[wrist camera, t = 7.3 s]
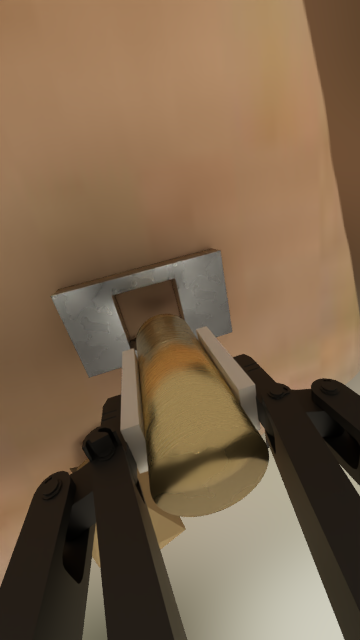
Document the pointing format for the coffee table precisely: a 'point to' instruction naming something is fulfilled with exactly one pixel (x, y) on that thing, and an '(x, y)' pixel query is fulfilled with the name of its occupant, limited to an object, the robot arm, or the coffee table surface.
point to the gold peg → (193, 425)
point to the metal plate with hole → (98, 295)
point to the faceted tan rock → (161, 520)
